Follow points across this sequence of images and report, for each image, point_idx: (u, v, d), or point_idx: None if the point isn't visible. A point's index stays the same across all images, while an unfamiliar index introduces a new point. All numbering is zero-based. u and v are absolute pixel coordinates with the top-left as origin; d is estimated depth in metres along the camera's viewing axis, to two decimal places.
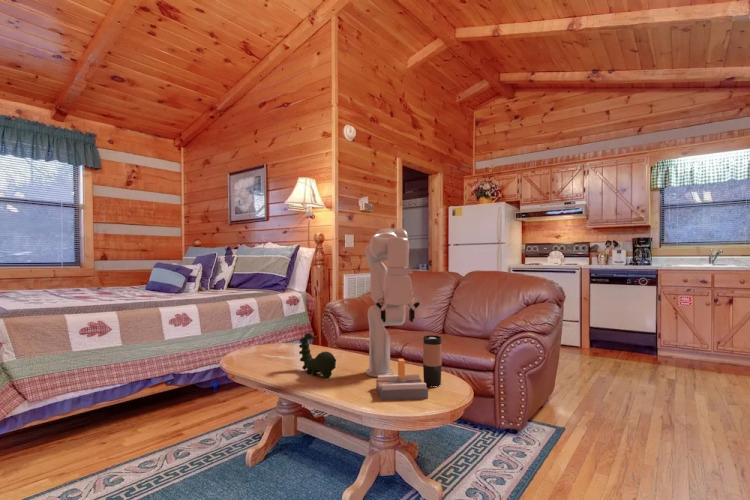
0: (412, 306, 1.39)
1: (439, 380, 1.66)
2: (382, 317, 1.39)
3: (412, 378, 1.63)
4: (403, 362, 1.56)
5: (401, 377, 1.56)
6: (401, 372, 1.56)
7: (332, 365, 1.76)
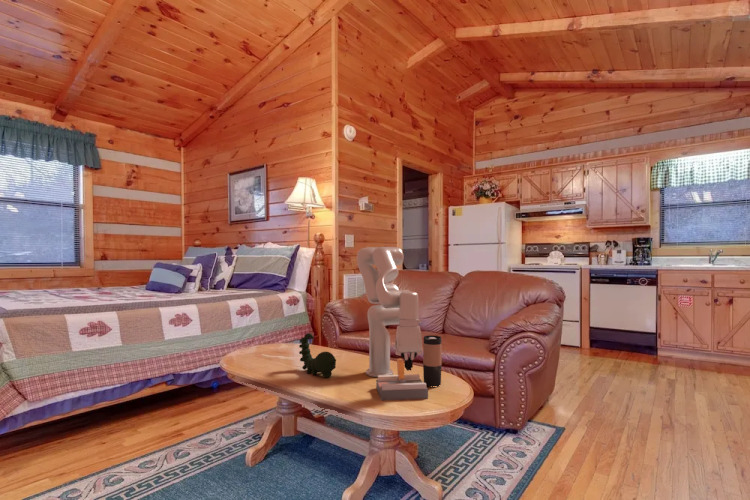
0: (412, 356, 1.57)
1: (439, 380, 1.66)
2: (406, 366, 1.57)
3: (412, 378, 1.63)
4: (402, 362, 1.56)
5: (401, 377, 1.56)
6: (400, 372, 1.56)
7: (332, 365, 1.76)
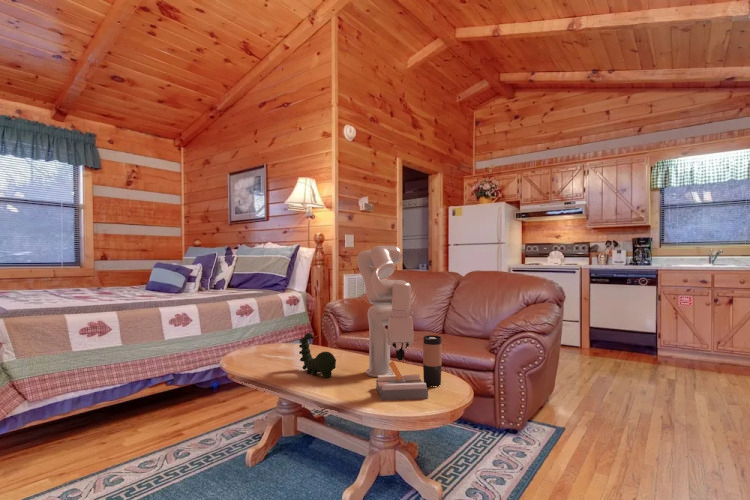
0: (404, 346, 1.58)
1: (439, 380, 1.66)
2: (397, 356, 1.58)
3: (412, 378, 1.63)
4: (393, 364, 1.56)
5: (399, 378, 1.56)
6: (396, 374, 1.56)
7: (332, 365, 1.76)
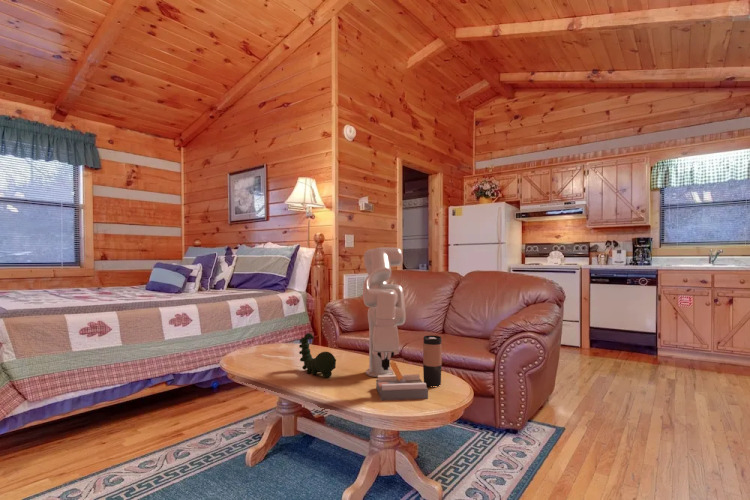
0: (389, 355, 1.56)
1: (439, 380, 1.66)
2: (383, 365, 1.56)
3: (412, 378, 1.63)
4: (394, 364, 1.56)
5: (399, 378, 1.56)
6: (397, 374, 1.56)
7: (332, 365, 1.76)
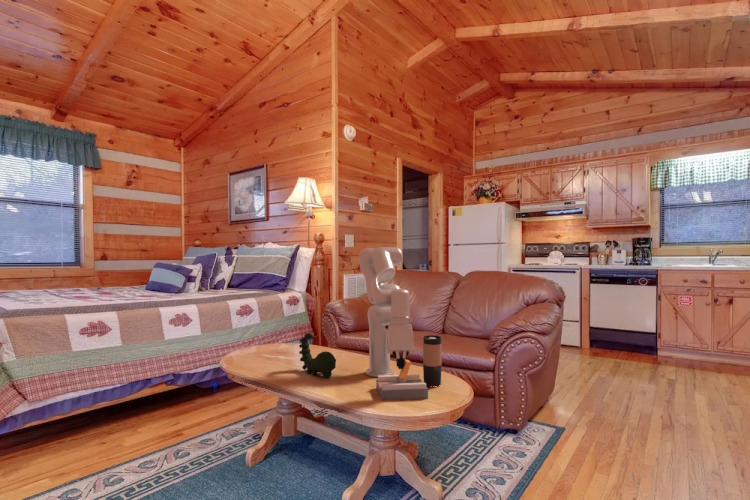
0: (404, 354, 1.56)
1: (439, 380, 1.66)
2: (398, 365, 1.56)
3: (412, 378, 1.63)
4: (409, 363, 1.57)
5: (402, 377, 1.56)
6: (404, 372, 1.56)
7: (332, 365, 1.76)
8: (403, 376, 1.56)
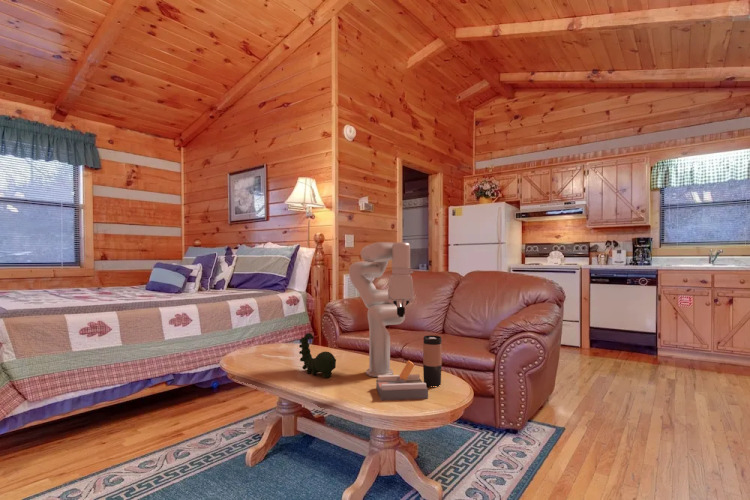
0: (404, 303, 1.64)
1: (439, 380, 1.66)
2: (398, 313, 1.64)
3: (412, 378, 1.63)
4: (412, 365, 1.57)
5: (403, 377, 1.56)
6: (406, 373, 1.56)
7: (332, 365, 1.76)
8: (404, 376, 1.56)
